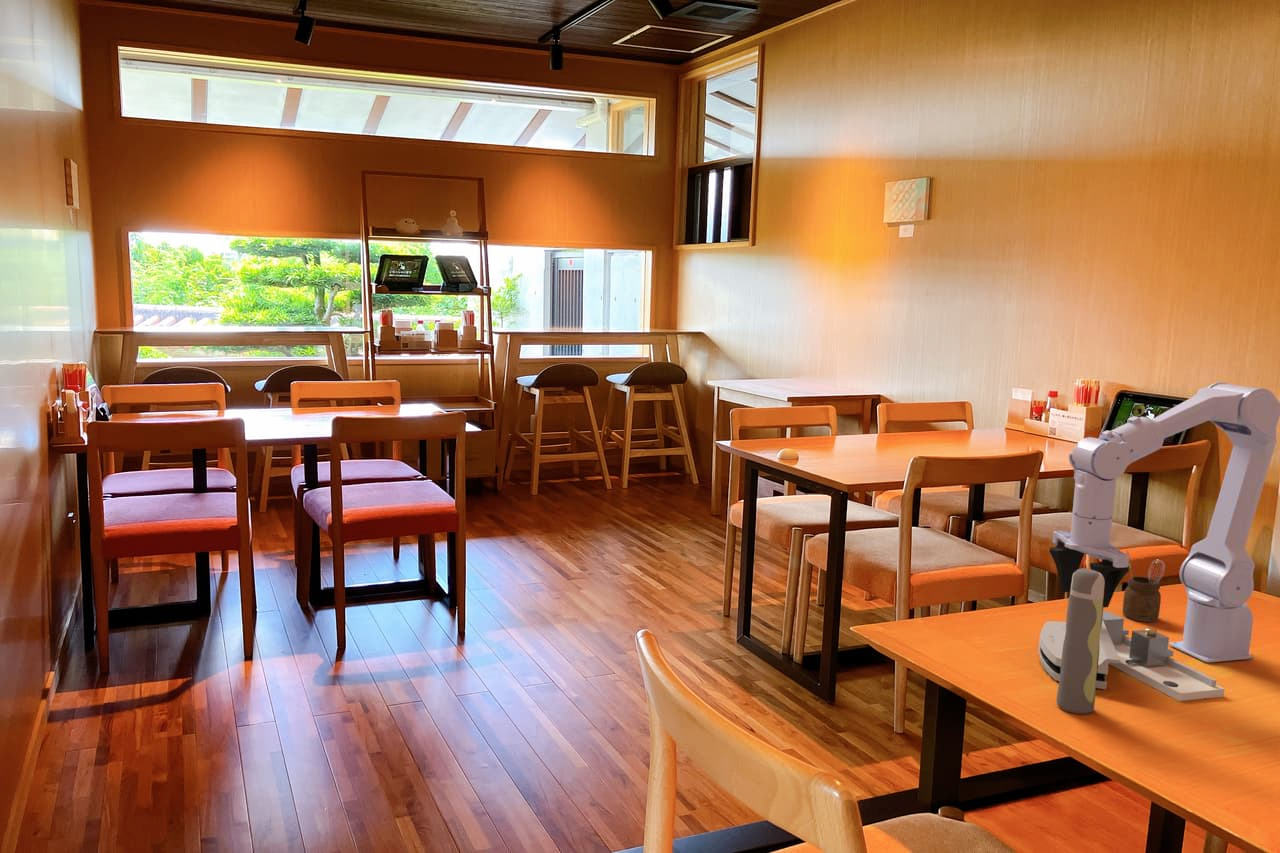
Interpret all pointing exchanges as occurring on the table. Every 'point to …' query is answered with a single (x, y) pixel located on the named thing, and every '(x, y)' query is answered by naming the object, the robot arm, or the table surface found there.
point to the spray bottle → (1081, 642)
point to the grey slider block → (1149, 648)
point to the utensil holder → (1142, 597)
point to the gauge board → (1160, 669)
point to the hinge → (1053, 647)
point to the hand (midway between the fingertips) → (1084, 599)
